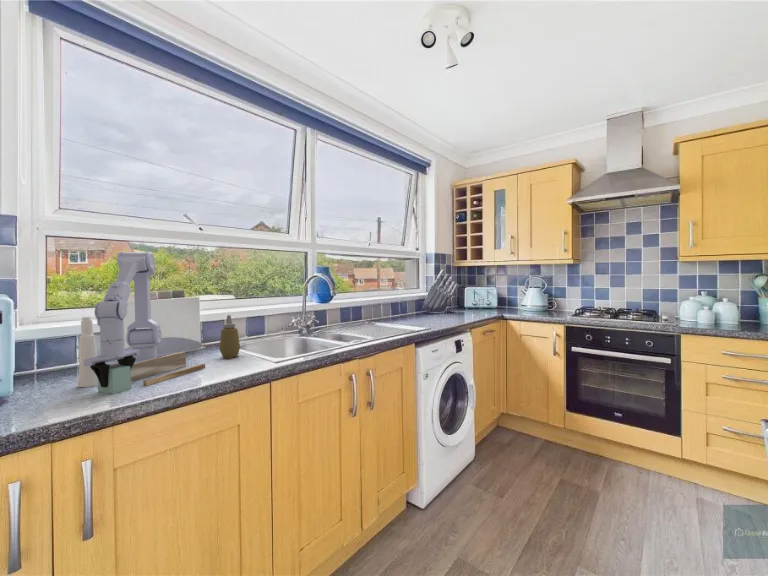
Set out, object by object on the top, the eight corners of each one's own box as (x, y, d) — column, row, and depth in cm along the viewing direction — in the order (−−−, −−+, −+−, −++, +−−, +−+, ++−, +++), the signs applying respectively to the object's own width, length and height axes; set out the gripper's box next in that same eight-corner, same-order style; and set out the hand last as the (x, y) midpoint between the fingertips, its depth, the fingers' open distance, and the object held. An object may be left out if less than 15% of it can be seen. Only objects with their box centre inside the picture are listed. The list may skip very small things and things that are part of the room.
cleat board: (122, 382, 112) (122, 365, 111) (183, 365, 132) (182, 351, 132) (146, 385, 108) (146, 368, 107) (205, 367, 128) (204, 353, 128)
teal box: (98, 391, 103) (97, 366, 102) (116, 386, 107) (115, 362, 107) (113, 394, 100) (112, 367, 100) (131, 388, 105) (130, 363, 105)
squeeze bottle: (235, 358, 142) (233, 316, 141) (216, 359, 142) (214, 316, 141) (243, 354, 150) (242, 314, 149) (225, 354, 150) (224, 314, 149)
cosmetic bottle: (106, 381, 113) (103, 315, 112) (91, 387, 107) (87, 318, 106) (88, 382, 113) (85, 316, 112) (71, 388, 107) (68, 318, 106)
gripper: (93, 345, 95) (95, 393, 96) (145, 336, 109) (147, 378, 109) (78, 343, 98) (80, 390, 98) (130, 335, 111) (132, 376, 112)
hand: (114, 383), depth 104 cm, fingers closed on teal box, 5 cm apart
